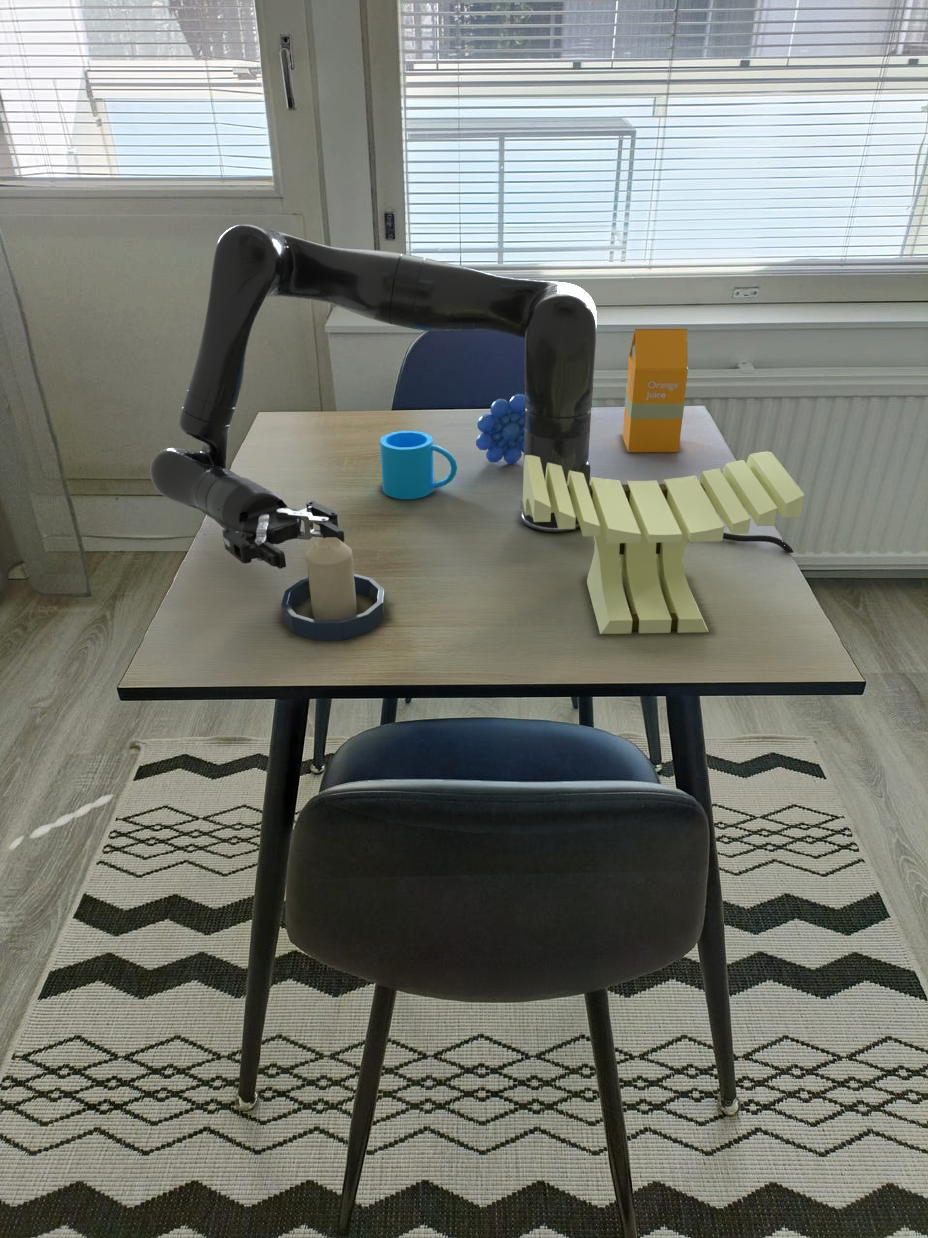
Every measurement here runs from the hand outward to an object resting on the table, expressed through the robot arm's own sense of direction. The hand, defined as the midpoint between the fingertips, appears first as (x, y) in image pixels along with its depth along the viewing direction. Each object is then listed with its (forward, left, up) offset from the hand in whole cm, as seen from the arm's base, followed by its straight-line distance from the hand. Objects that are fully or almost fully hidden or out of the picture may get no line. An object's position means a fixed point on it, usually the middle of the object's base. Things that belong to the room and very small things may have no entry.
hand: (312, 550), depth 119 cm
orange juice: (-52, -53, -8) cm, 75 cm away
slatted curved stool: (-41, +1, -8) cm, 42 cm away
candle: (-2, +3, -8) cm, 9 cm away
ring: (-2, +3, -8) cm, 8 cm away
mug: (-12, -35, -8) cm, 38 cm away
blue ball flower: (-27, -46, -8) cm, 54 cm away
